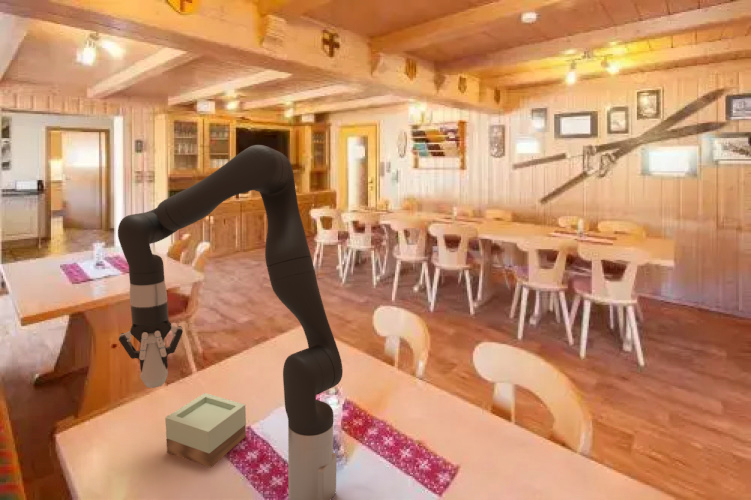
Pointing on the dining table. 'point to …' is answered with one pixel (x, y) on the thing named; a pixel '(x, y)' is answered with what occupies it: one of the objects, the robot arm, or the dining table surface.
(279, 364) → the dining table surface
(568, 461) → the dining table surface
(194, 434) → the top block
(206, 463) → the base block
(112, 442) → the dining table surface
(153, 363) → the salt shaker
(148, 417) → the dining table surface
